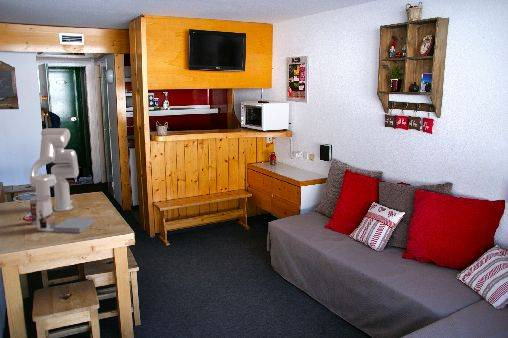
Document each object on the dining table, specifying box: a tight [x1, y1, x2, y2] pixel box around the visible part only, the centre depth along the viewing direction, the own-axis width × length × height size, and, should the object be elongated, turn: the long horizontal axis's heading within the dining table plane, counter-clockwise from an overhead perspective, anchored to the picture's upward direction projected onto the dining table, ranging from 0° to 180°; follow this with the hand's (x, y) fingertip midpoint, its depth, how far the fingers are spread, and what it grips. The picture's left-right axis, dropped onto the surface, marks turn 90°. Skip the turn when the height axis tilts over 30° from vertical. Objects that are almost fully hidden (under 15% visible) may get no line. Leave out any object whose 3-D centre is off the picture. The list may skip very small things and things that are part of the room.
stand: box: [53, 217, 94, 234], centre depth 269 cm, size 18×16×3 cm
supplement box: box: [29, 197, 37, 226], centre depth 275 cm, size 9×5×16 cm, turn 117°
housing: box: [36, 214, 56, 232], centre depth 265 cm, size 6×8×8 cm
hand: (46, 225), depth 265 cm, fingers closed on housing, 6 cm apart
